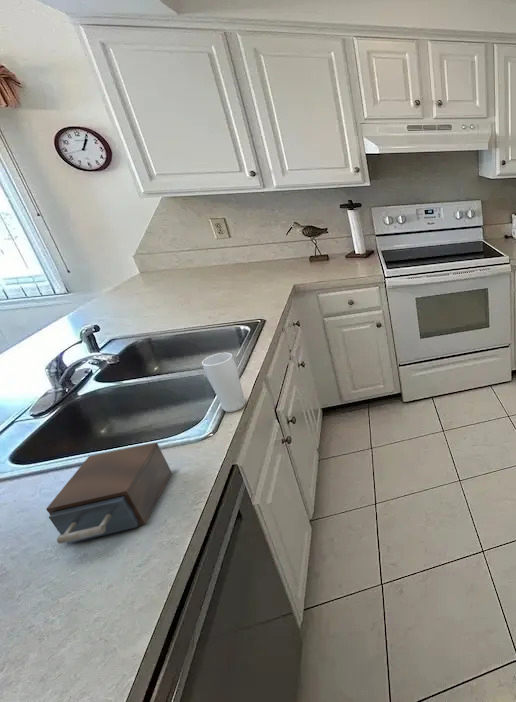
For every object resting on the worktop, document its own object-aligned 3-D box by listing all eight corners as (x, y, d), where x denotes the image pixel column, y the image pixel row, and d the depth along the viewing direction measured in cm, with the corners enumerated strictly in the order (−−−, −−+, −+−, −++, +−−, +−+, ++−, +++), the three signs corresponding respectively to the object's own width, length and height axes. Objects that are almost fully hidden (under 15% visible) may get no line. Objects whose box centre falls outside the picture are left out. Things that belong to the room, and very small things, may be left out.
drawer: (127, 545, 72) (110, 518, 69) (53, 563, 70) (33, 536, 67) (163, 478, 87) (150, 453, 84) (103, 491, 84) (88, 466, 81)
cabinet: (145, 524, 77) (126, 491, 74) (69, 542, 74) (45, 509, 70) (172, 473, 89) (157, 442, 85) (107, 487, 86) (89, 456, 82)
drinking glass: (254, 402, 112) (238, 355, 106) (231, 417, 106) (212, 367, 100) (238, 397, 115) (221, 350, 108) (214, 411, 109) (195, 362, 103)
